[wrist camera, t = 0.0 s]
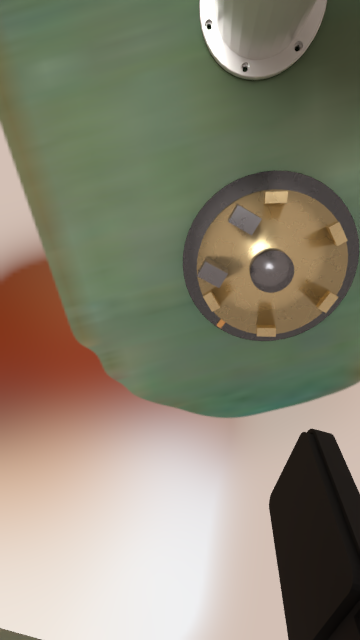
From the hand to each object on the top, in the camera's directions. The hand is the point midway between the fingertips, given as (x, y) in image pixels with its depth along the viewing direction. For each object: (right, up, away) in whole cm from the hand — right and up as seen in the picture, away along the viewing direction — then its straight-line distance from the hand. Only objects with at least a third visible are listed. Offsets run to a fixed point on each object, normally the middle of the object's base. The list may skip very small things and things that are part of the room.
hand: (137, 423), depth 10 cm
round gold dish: (+13, +10, +32) cm, 36 cm away
